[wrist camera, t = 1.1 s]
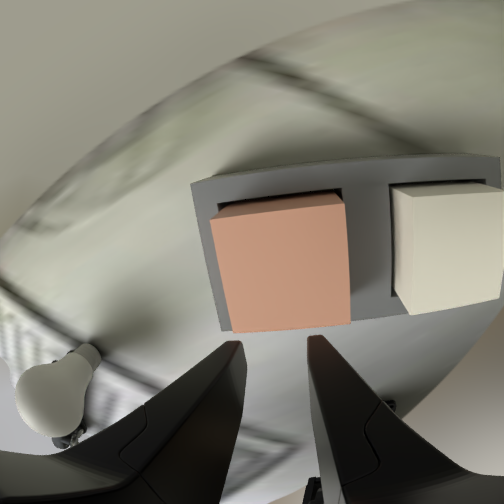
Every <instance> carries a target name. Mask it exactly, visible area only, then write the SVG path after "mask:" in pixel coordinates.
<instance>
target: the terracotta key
mask: <svg viewBox="0 0 504 504" xmlns="http://www.w3.org/2000/svg"><path fill="white" fill-rule="evenodd" d="M210 224H211V229H212V234H213V240H214V245H215V250H216V255H217V260H218V264H219V269H220V274H221V279H222V284H223V289H224V293H225V298H226V303H227V307H228V312H229V316H230V321H231V325H232V330H233V333H248V332H265V331H280V330H293V329H305V328H316V327H326V326H335V325H344V324H351V319H350V278H349V257H348V241H347V227H346V215H345V204H344V202H343V201H342V200H341V199H340V198H339V197H338V196H337V194H336V193H335V192H334V191H333V190H324V191H315V192H306V193H297V194H289V195H280V196H273V197H265V198H257V199H250V200H243V201H235V202H230V203H229V204H228V205H227V206H226V207H224V208H223V209H222V210H221V211H220V212H218V213H217V214H216V215H215V216H214V217H212V218H211V219H210Z"/></svg>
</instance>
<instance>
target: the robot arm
mask: <svg viewBox="0 0 504 504" xmlns="http://www.w3.org/2000/svg"><path fill="white" fill-rule="evenodd" d="M307 364H308V377H309V391H310V406H311V417H312V424H313V431H314V437H315V443H316V450H317V456H318V463H319V470H320V477H317V478H316V477H311V478H309V480H308V484H307V485H306V490H305V494H304V498H303V503H302V504H504V476H492V475H481V474H477V473H473V472H471V471H468V470H466V469H464V468H462V467H460V466H459V465H458V464H456V463H454V462H453V461H452V460H451V459H449V458H448V457H447V456H445V455H444V454H443V453H442V452H440V451H439V450H438V449H436V448H435V447H434V446H433V445H431V444H430V443H429V442H427V441H426V440H425V439H424V438H422V437H421V436H420V435H419V434H417V433H416V432H415V431H414V430H413V429H411V428H410V427H409V426H408V425H407V424H406V423H404V422H403V421H402V420H401V419H400V418H399V417H398V416H397V415H396V414H395V409H396V403H395V401H393V400H390V401H382V399H381V398H380V397H379V396H378V395H377V393H376V392H375V391H374V390H373V389H372V388H371V387H370V386H369V385H368V384H367V383H366V382H365V380H364V379H363V378H362V377H361V376H360V375H359V374H358V373H357V372H356V371H355V370H354V369H353V368H352V366H351V365H350V364H349V363H348V362H347V361H346V360H345V359H344V358H343V357H342V356H341V354H340V353H339V352H338V351H337V350H336V349H335V348H334V347H333V346H332V345H331V344H330V343H329V341H328V340H327V339H326V338H325V337H324V336H323V335H313V336H309V337H308V338H307ZM246 377H247V362H246V358H245V353H244V348H243V344H242V342H241V341H226V342H225V343H223V344H222V345H221V346H220V347H218V348H217V349H216V350H215V351H213V352H212V353H211V354H209V355H208V356H207V357H206V358H204V359H203V360H202V361H200V362H199V363H198V364H196V365H195V366H194V367H193V368H191V369H190V370H189V371H187V372H186V373H185V374H183V375H182V376H181V377H179V378H178V379H177V380H175V381H174V382H173V383H171V384H170V385H169V386H167V387H166V388H165V389H163V390H162V391H161V392H159V393H158V394H156V395H155V396H154V397H152V398H151V399H150V400H148V401H147V402H145V403H144V405H141V406H140V407H138V408H137V409H135V410H134V411H133V412H131V413H130V414H128V415H127V416H125V417H124V418H122V419H121V420H119V421H118V422H116V423H114V424H113V425H111V426H109V427H107V428H106V429H104V430H102V431H100V432H99V433H97V434H95V435H93V436H91V437H89V438H88V439H86V440H84V441H82V442H80V443H78V444H76V445H74V446H72V447H70V448H68V449H66V450H64V451H62V452H59V453H56V454H51V455H31V454H22V453H14V452H8V451H1V450H0V504H219V502H220V499H221V495H222V491H223V488H224V484H225V480H226V477H227V473H228V469H229V465H230V462H231V458H232V454H233V450H234V446H235V443H236V439H237V435H238V431H239V427H240V423H241V419H242V413H243V405H244V396H245V387H246Z"/></svg>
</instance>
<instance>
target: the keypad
mask: <svg viewBox="0 0 504 504" xmlns="http://www.w3.org/2000/svg"><path fill="white" fill-rule="evenodd" d="M436 180H455V181H457V180H469V181H473V182H476V183H480V184H484V185H487V186H491V187H495V188H498V189H501V170H500V157H494V156H486V155H477V154H415V155H394V156H377V157H363V158H350V159H339V160H329V161H319V162H310V163H301V164H293V165H285V166H277V167H270V168H262V169H256V170H249V171H242V172H236V173H230V174H224V175H218V176H212V177H209V178H206V179H203V180H200V181H197V182H194V183H191V184H190V185H191V191H192V196H193V201H194V206H195V212H196V217H197V222H198V227H199V232H200V236H201V241H202V246H203V251H204V256H205V260H206V265H207V270H208V274H209V279H210V283H211V288H212V292H213V296H214V301H215V305H216V309H217V314H218V318H219V322H220V326H221V330H222V331H233V330H232V325H231V321H230V316H229V312H228V307H227V303H226V298H225V293H224V289H223V284H222V279H221V274H220V269H219V264H218V260H217V255H216V250H215V245H214V240H213V234H212V229H211V224H210V219H211V218H212V217H214V216H215V215H216V214H217V213H218V212H220V211H221V210H222V209H223V208H224V207H226V206H227V205H228V204H229V203H230V202H234V201H235V200H242V199H249V198H257V197H264V196H272V195H280V194H288V193H296V192H305V191H314V190H323V189H333V190H334V192H335V193H336V194H337V196H338V197H339V198H340V199H341V200H342V201H343V202H344V204H345V215H346V227H347V241H348V257H349V278H350V319H351V321H356V320H364V319H372V318H380V317H387V316H394V315H400V314H407V313H408V311H407V309H406V308H405V306H404V304H403V303H402V301H401V299H400V298H399V296H398V294H397V293H396V291H395V290H394V288H393V286H392V285H391V218H390V200H389V186H388V184H389V183H403V182H418V181H436Z"/></svg>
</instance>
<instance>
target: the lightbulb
mask: <svg viewBox="0 0 504 504" xmlns="http://www.w3.org/2000/svg"><path fill="white" fill-rule="evenodd" d="M100 363H101V356H100V353H99V352H98V350H97V349H96V348H95V347H94V346H92V345H90V344H86V343H84V344H82V345H81V346H79V347H78V348H77V349H76V350H75V351H74V352H73V353H68V354H67V355H66V356H65V357H63V358H62V359H61V360H59V361H57V362H54V363H51V364H43V365H38V366H33V367H32V368H30V369H28V370H26V371H25V372H24V373H23V374H22V375H21V377H20V378H19V380H18V382H17V385H16V390H15V400H16V405H17V408H18V411H19V413H20V415H21V417H22V419H23V420H24V421H25V422H26V424H27V425H28V426H29V427H30V428H32V429H33V430H34V431H36V432H38V433H40V434H42V435H44V436H48V437H62V436H66V435H68V434H70V433H71V432H73V431H74V430H75V429H76V428H77V427H78V426H79V424H80V422H81V419H82V417H83V411H84V396H85V392H86V388H87V386H88V384H89V382H90V381H91V379H92V377H93V373H94V371H95V370H96V368H97V367H98V366H99V364H100Z"/></svg>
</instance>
